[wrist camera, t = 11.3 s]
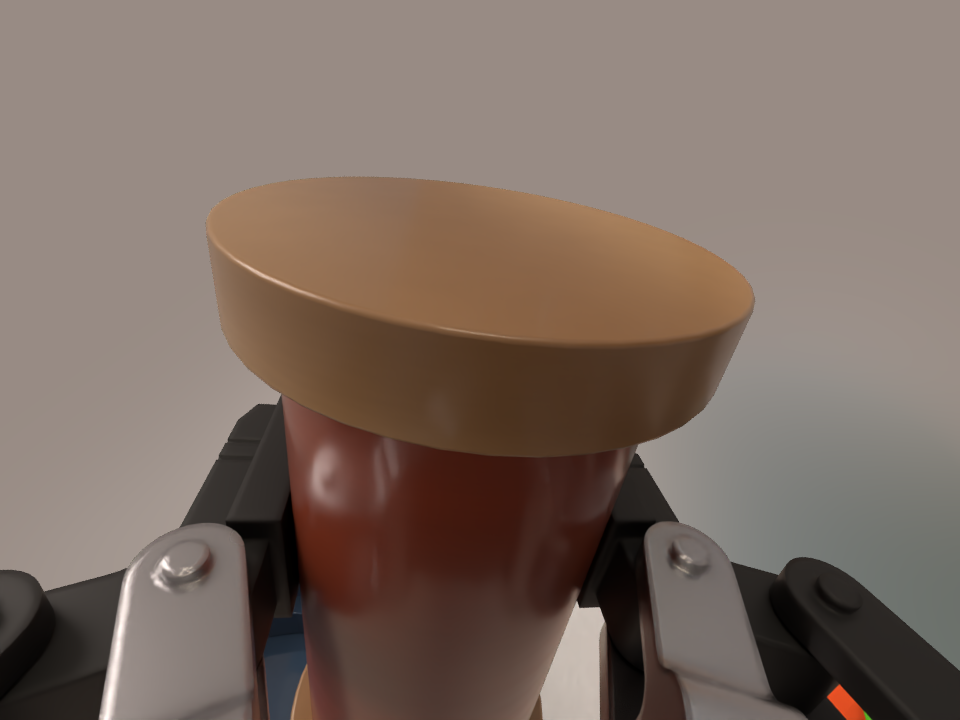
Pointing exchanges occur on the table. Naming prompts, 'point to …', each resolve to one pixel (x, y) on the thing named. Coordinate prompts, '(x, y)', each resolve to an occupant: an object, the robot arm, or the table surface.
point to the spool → (458, 416)
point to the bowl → (285, 661)
